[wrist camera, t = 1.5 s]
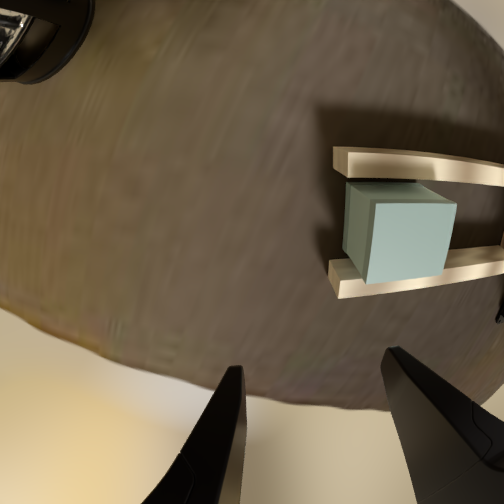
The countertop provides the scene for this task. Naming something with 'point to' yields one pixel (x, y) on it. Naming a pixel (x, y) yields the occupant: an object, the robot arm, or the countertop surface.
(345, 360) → the countertop surface
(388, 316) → the countertop surface
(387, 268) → the pale teal block
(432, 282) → the lane
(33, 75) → the french press
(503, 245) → the front stop
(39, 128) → the countertop surface
